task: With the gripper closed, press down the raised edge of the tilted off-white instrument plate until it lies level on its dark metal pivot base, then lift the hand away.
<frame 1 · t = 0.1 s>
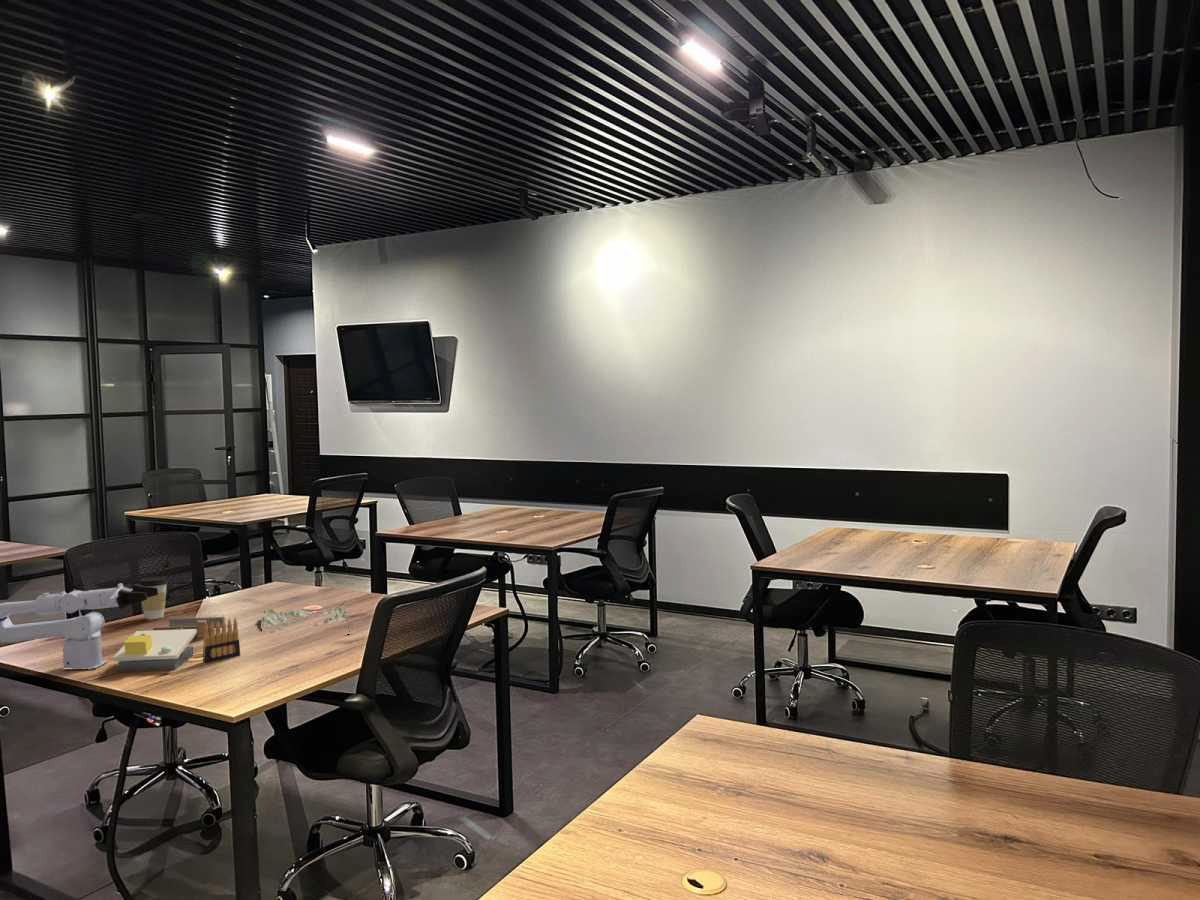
hand: (151, 593, 251), 22 cm above the table, tool horizontal, fingers open, 7 cm apart
instrument plate: (155, 638, 251), point 8 cm above the table, hinge at 14.0°
skate ramp: (182, 639, 283), on the table
topographic map model: (304, 629, 295), on the table
ammunition clip: (221, 659, 257), on the table
leveling base: (157, 663, 252), on the table
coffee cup: (154, 618, 310), on the table
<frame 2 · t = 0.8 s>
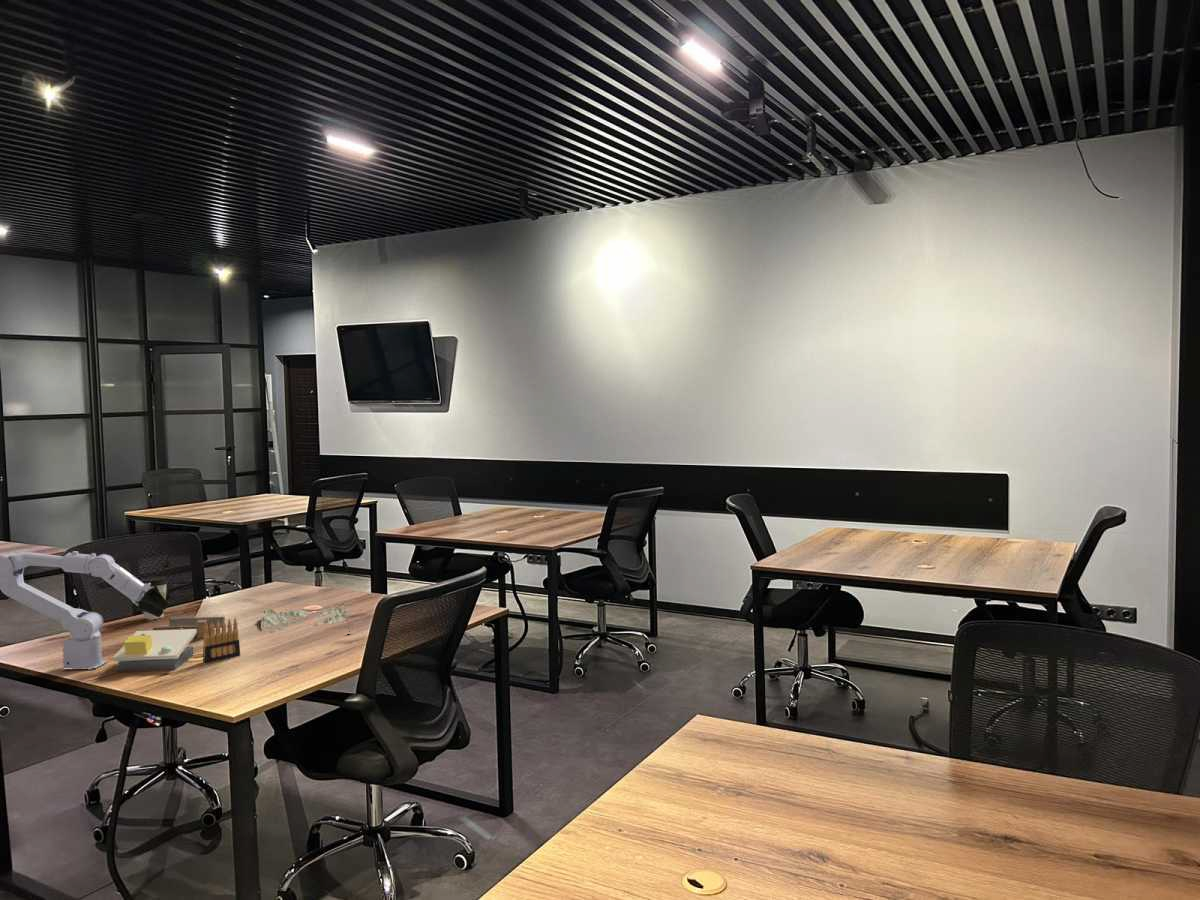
hand: (164, 611, 255), 16 cm above the table, tool tilted 50°, fingers open, 7 cm apart
nothing on the table moved.
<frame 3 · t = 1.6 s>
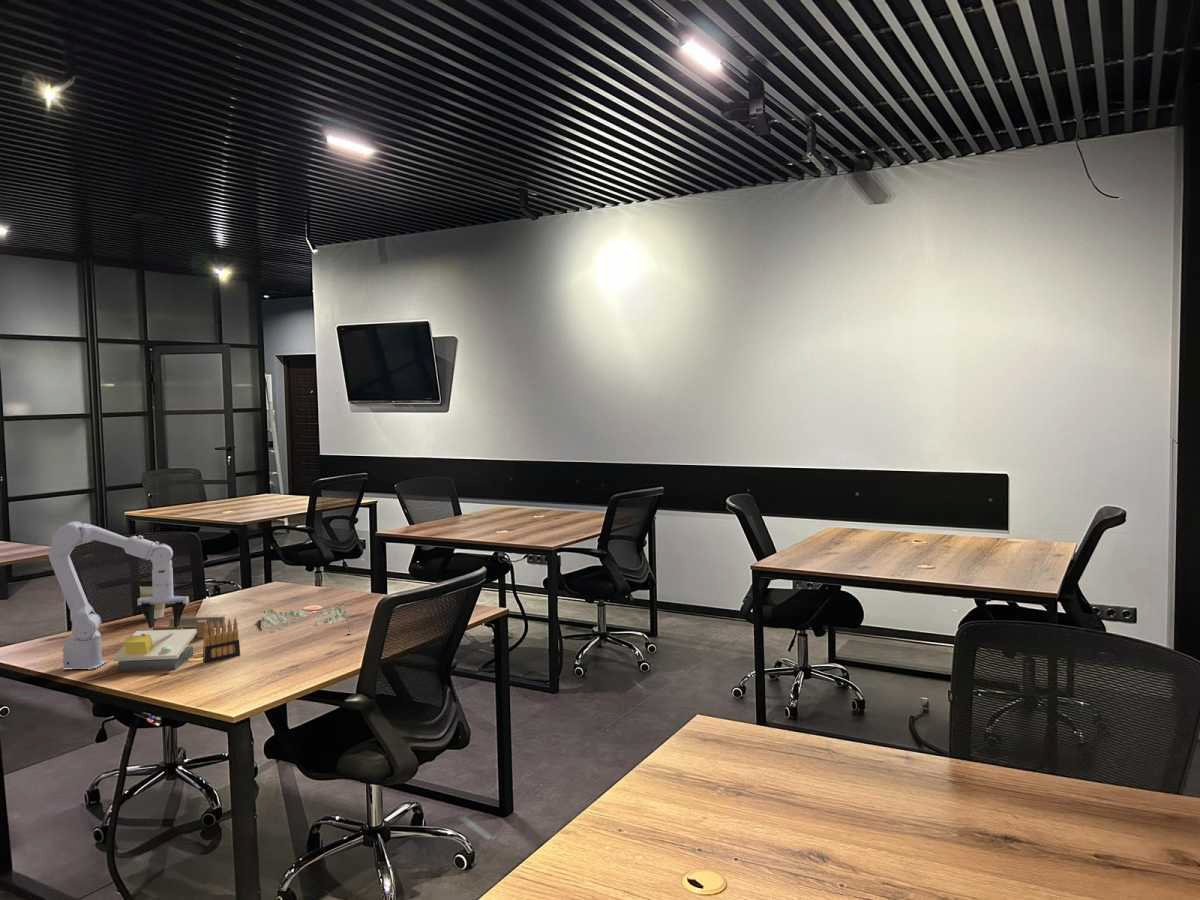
hand: (164, 626, 257), 10 cm above the table, tool pointing down, fingers open, 7 cm apart
nothing on the table moved.
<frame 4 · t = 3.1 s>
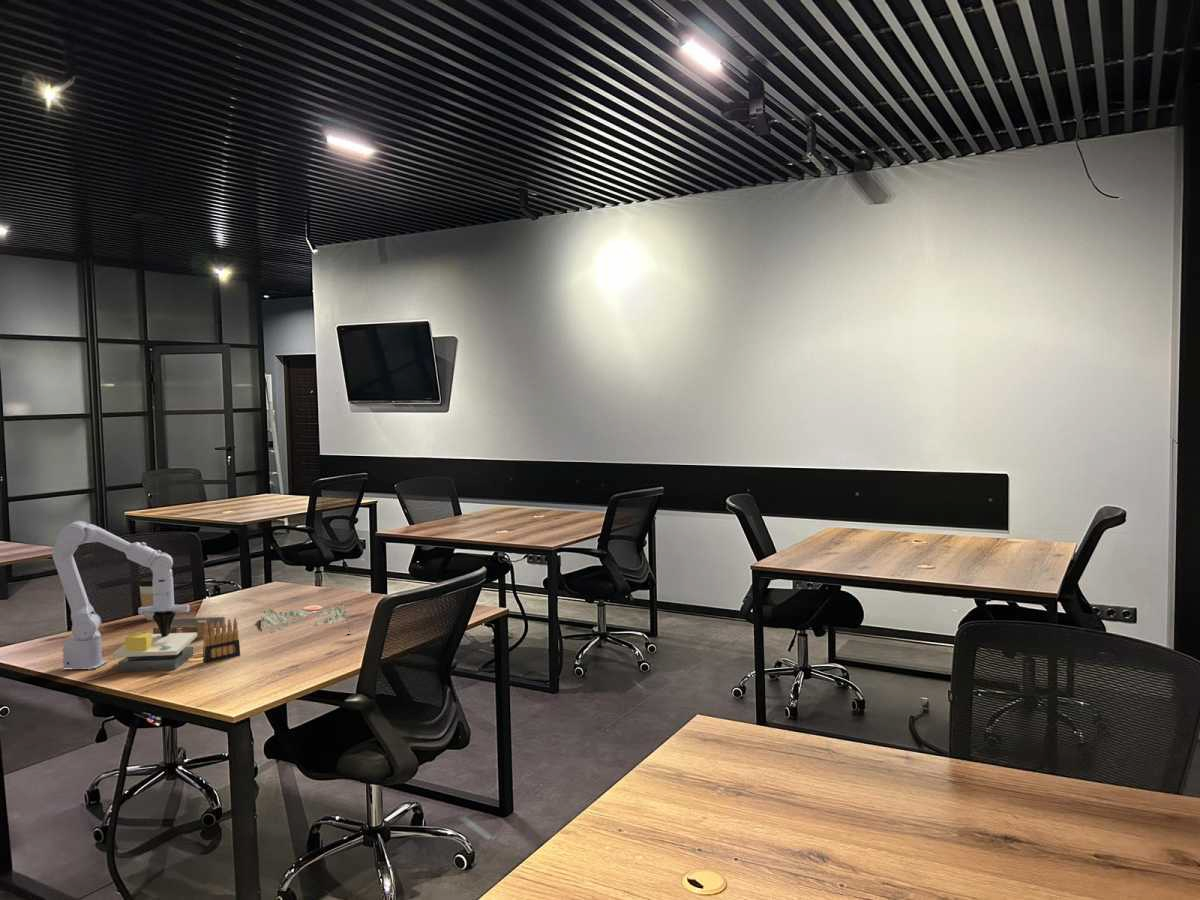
hand: (165, 635, 258), 7 cm above the table, tool pointing down, fingers closed, pressing on instrument plate
instrument plate: (156, 638, 252), point 8 cm above the table, hinge at 4.7°, touching gripper
everything else where it was.
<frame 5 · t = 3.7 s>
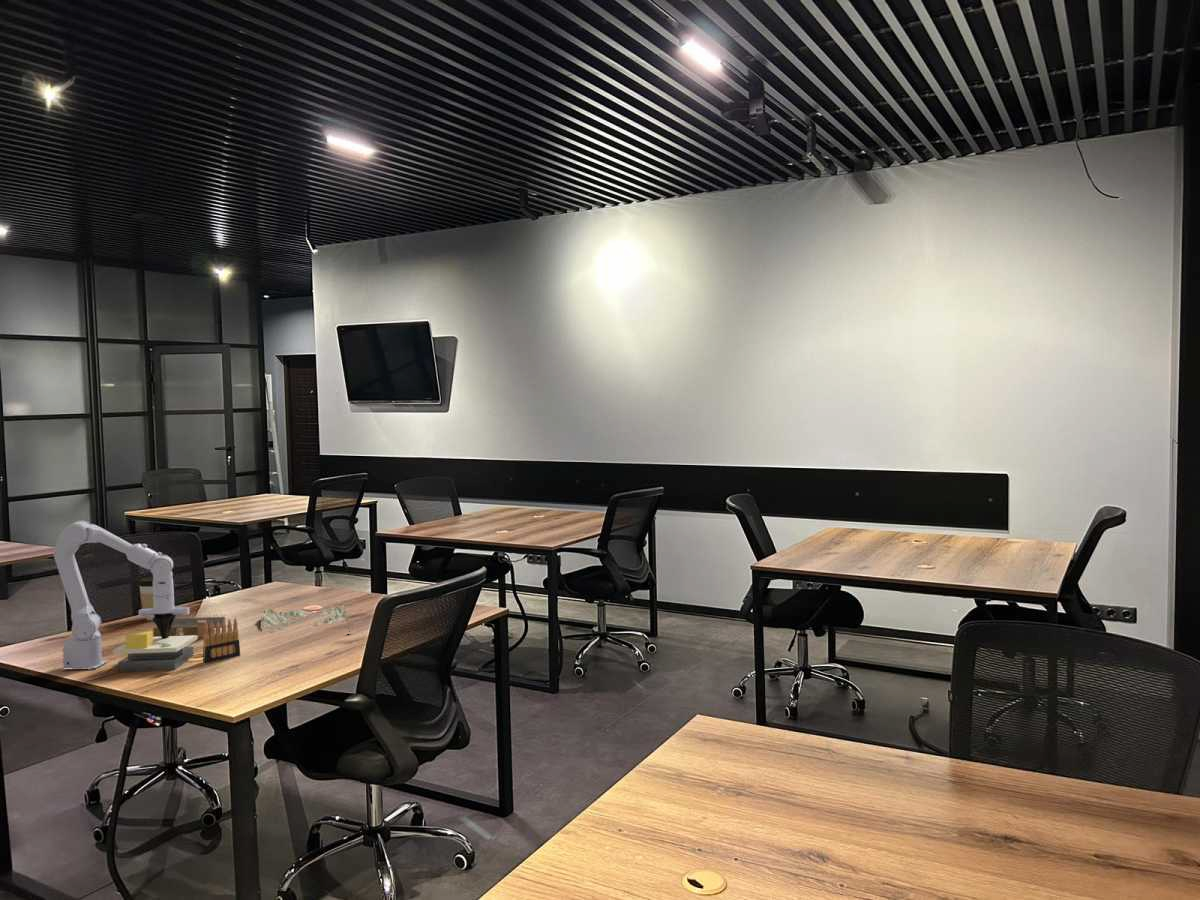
hand: (165, 637, 258), 6 cm above the table, tool pointing down, fingers closed, pressing on instrument plate
instrument plate: (156, 637, 252), point 8 cm above the table, hinge at -1.8°, touching gripper
everything else where it was.
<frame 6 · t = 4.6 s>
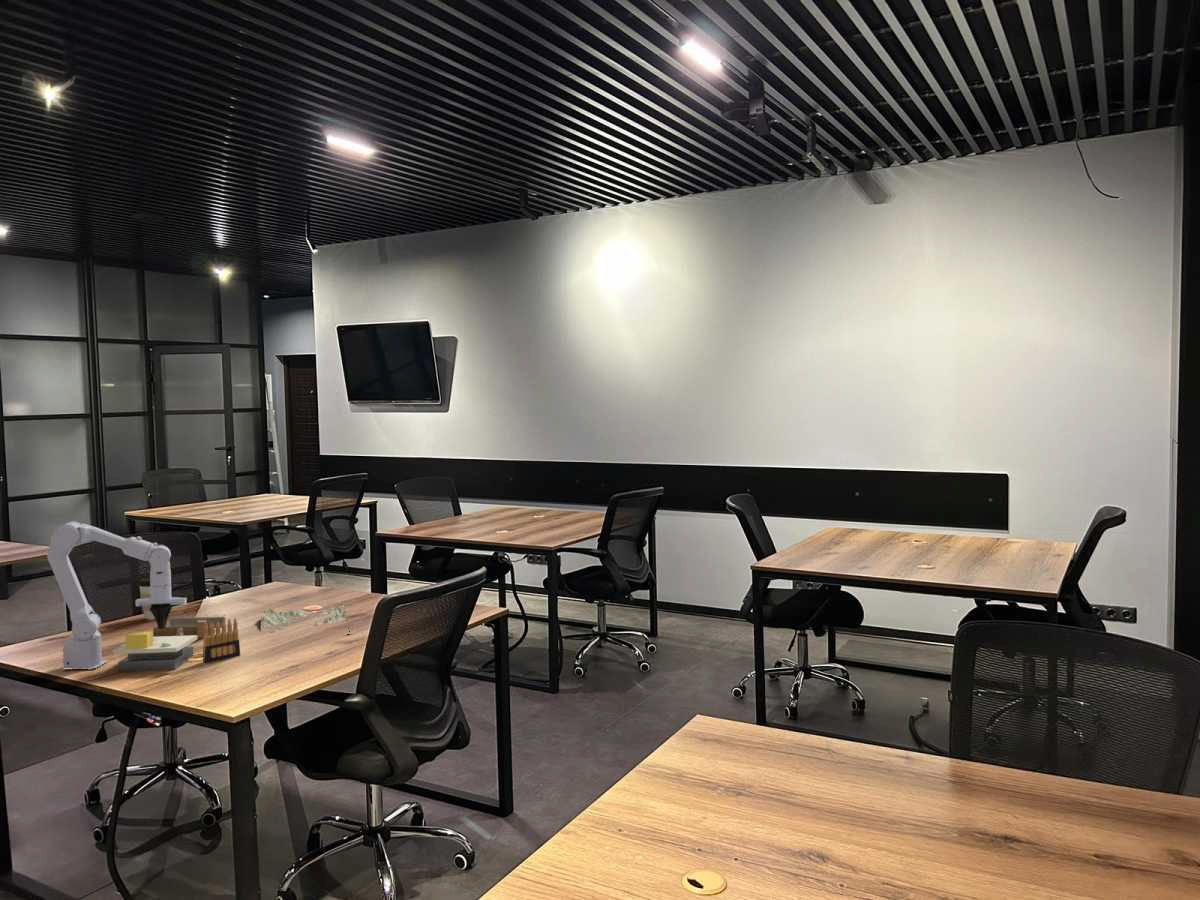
hand: (162, 628, 258), 10 cm above the table, tool pointing down, fingers closed
instrument plate: (156, 637, 252), point 8 cm above the table, hinge at -1.8°
everything else where it was.
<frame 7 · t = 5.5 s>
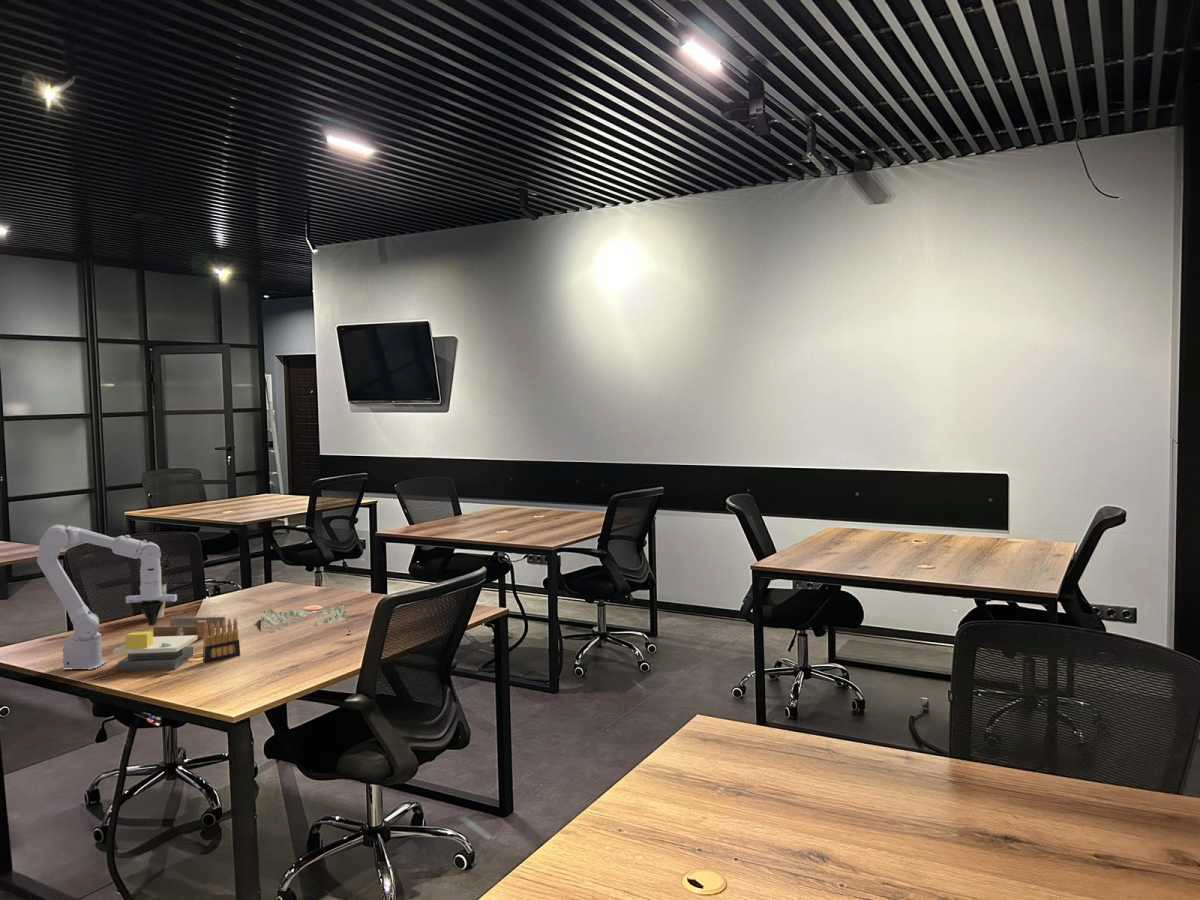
hand: (152, 624, 258), 10 cm above the table, tool pointing down, fingers closed
nothing on the table moved.
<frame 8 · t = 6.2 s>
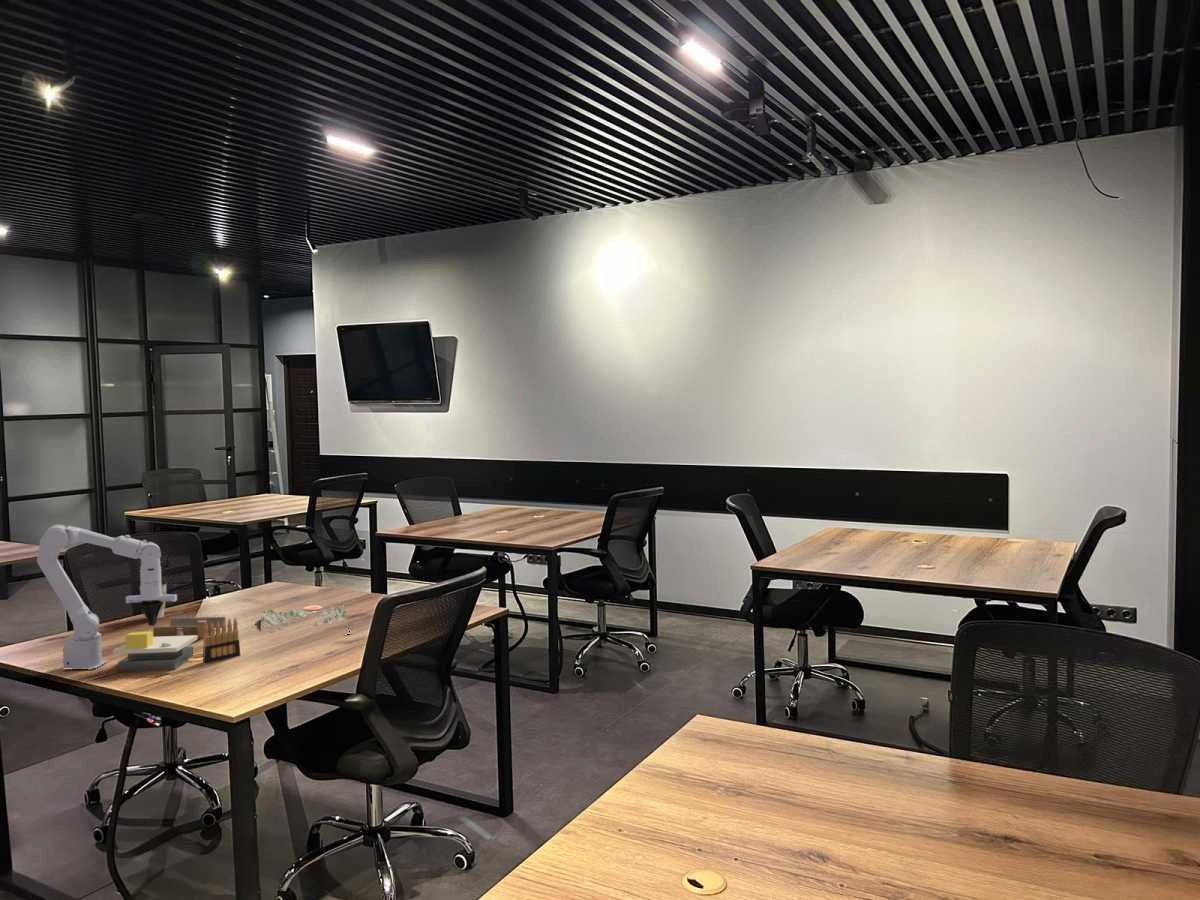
hand: (152, 624, 258), 10 cm above the table, tool pointing down, fingers closed
nothing on the table moved.
at the end: instrument plate at -2° (first picture: +14°); ammunition clip moved 0.3 cm from its start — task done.
